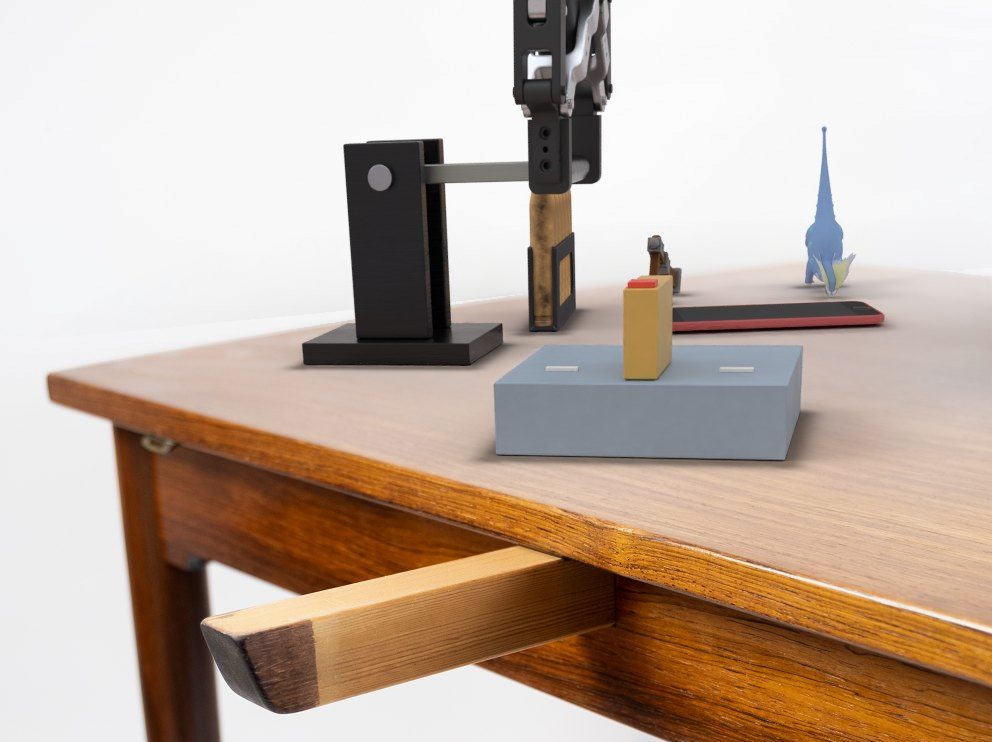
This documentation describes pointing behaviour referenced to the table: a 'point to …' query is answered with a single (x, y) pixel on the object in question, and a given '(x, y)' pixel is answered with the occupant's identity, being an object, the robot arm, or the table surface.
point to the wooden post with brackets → (662, 262)
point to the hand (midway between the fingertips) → (566, 188)
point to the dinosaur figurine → (826, 238)
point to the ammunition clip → (551, 261)
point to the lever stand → (399, 265)
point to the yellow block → (647, 326)
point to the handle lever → (493, 171)
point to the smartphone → (774, 315)
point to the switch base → (651, 403)
